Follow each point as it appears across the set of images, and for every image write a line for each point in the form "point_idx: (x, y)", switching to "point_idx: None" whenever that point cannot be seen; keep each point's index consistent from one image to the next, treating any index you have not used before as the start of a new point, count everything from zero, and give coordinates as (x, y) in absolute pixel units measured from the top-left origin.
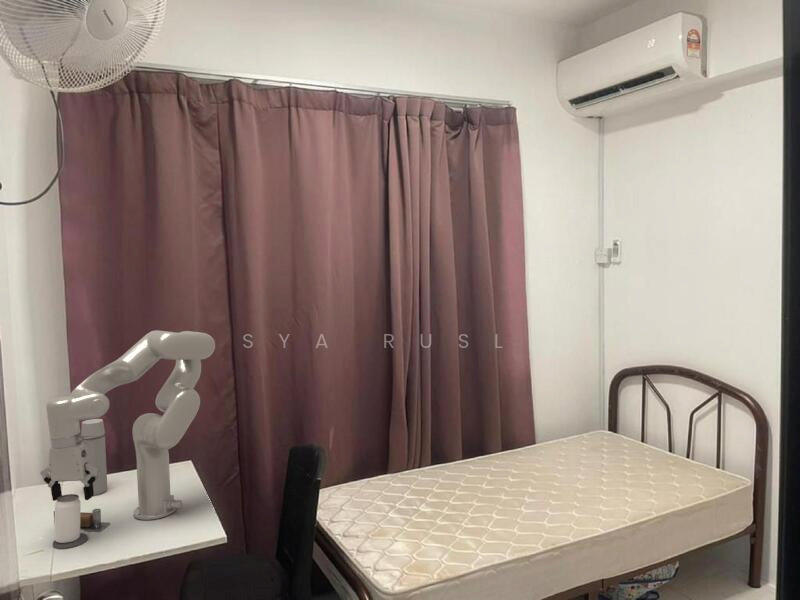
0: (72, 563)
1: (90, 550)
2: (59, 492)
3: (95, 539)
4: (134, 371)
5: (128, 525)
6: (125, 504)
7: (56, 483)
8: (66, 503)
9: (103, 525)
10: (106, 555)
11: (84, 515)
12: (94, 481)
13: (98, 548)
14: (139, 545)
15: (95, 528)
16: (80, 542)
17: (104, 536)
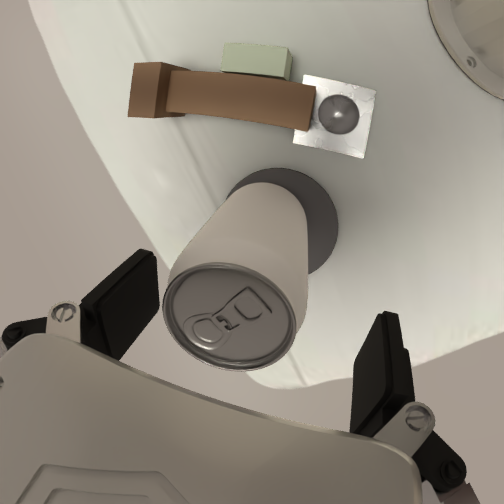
0: (340, 357)
1: (370, 299)
2: (138, 290)
3: (365, 222)
4: None
5: (449, 120)
6: None
7: (92, 347)
8: (250, 361)
9: (360, 115)
10: (419, 332)
11: (276, 113)
12: (433, 414)
13: (391, 291)
14: (493, 290)
15: (337, 140)
16: (324, 255)
17: (390, 203)
